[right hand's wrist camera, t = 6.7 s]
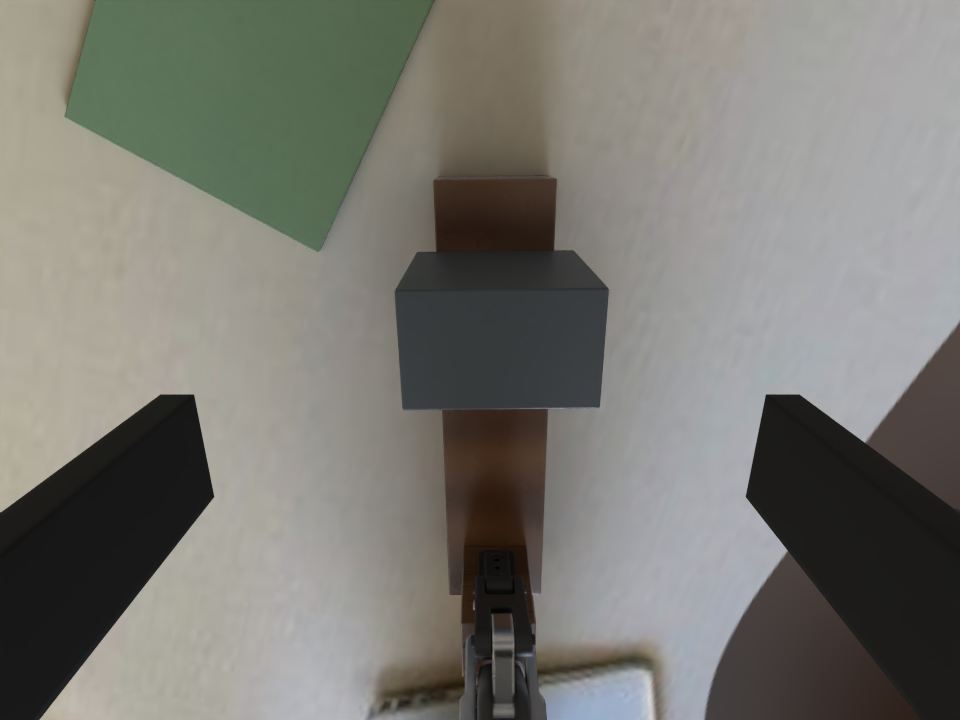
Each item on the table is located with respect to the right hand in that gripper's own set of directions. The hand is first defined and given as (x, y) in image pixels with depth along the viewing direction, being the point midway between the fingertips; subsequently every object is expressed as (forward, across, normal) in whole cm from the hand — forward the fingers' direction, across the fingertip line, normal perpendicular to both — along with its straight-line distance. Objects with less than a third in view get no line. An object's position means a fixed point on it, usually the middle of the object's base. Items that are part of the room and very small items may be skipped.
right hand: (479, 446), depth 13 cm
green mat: (+19, -12, +11) cm, 25 cm away
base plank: (+20, +1, -8) cm, 21 cm away
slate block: (+17, +1, -1) cm, 17 cm away
